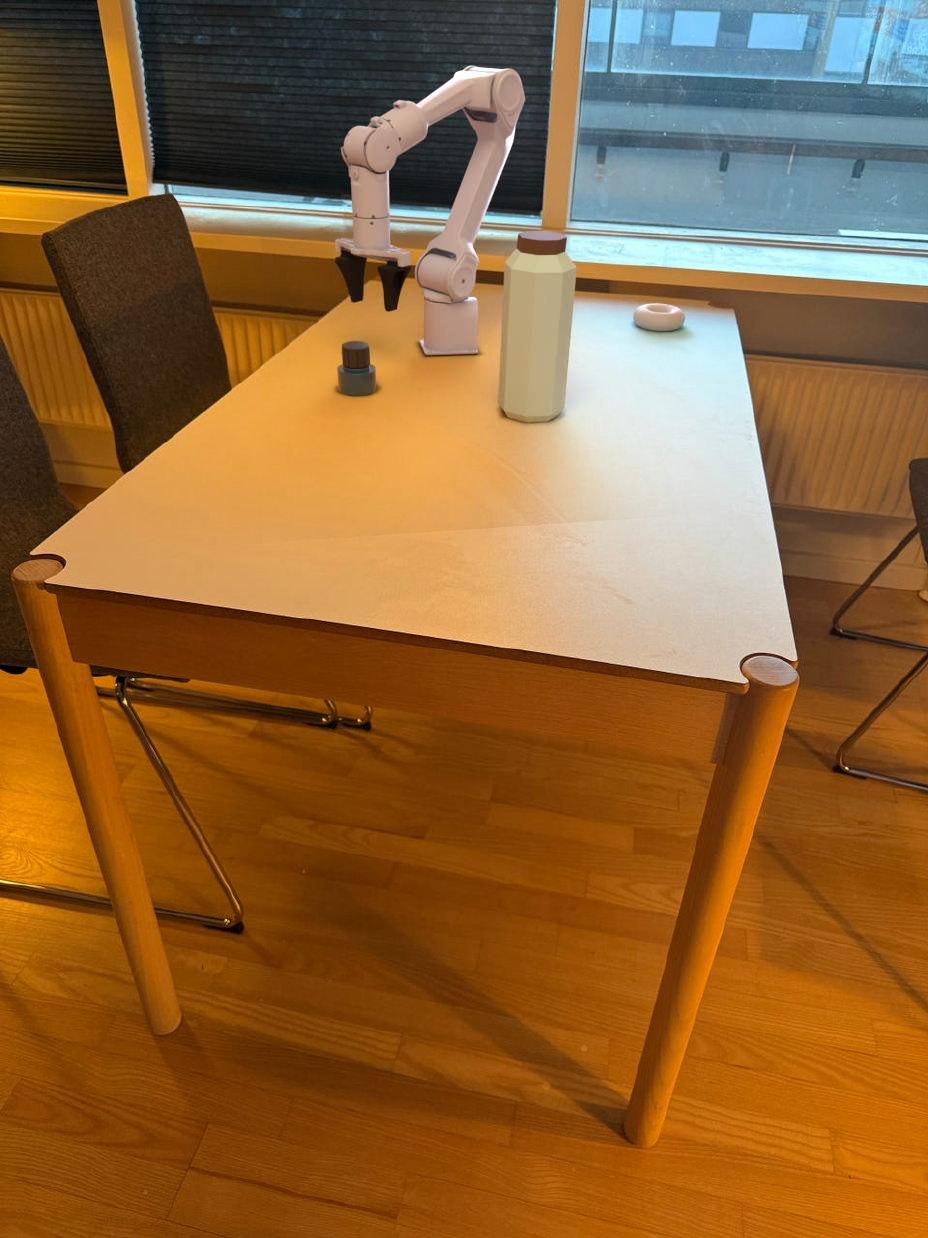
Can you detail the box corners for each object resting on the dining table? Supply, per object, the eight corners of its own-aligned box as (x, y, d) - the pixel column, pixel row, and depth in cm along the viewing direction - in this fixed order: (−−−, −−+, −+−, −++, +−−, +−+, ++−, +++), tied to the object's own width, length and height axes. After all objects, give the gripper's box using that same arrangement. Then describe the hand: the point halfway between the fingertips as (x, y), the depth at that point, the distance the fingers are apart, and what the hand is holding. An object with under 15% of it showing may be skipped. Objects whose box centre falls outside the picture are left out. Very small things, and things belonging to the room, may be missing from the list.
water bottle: (559, 428, 129) (575, 245, 115) (492, 421, 131) (499, 240, 117) (566, 403, 137) (582, 230, 123) (503, 397, 139) (511, 225, 125)
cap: (368, 358, 140) (367, 340, 139) (371, 367, 137) (370, 348, 135) (341, 359, 140) (340, 341, 138) (343, 368, 136) (342, 349, 134)
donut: (663, 317, 180) (621, 321, 176) (666, 299, 178) (624, 303, 174) (693, 330, 172) (651, 335, 168) (697, 312, 170) (654, 316, 166)
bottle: (374, 381, 143) (373, 341, 140) (378, 395, 139) (377, 353, 135) (337, 383, 143) (334, 342, 139) (339, 396, 138) (337, 354, 134)
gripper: (319, 212, 138) (324, 301, 146) (388, 225, 131) (390, 319, 138) (351, 206, 143) (355, 293, 150) (419, 219, 135) (419, 310, 143)
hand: (373, 305), depth 145 cm, fingers open, 7 cm apart
